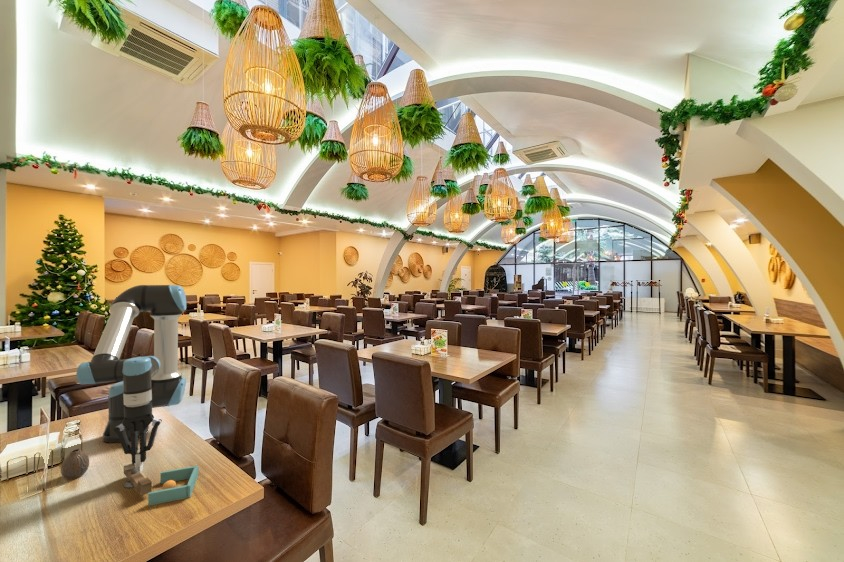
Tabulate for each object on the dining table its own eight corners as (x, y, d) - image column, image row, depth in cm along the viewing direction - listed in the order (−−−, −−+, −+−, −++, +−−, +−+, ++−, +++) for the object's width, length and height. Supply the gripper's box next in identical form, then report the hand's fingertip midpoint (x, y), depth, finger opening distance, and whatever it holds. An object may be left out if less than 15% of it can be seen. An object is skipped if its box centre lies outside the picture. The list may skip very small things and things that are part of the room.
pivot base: (127, 481, 115) (127, 479, 115) (146, 477, 117) (146, 476, 117) (121, 489, 111) (121, 488, 111) (140, 485, 113) (140, 484, 113)
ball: (178, 484, 112) (164, 490, 111) (174, 475, 112) (160, 481, 110) (177, 491, 109) (163, 498, 108) (173, 482, 109) (159, 488, 107)
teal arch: (161, 482, 115) (161, 471, 115) (198, 475, 119) (198, 465, 119) (148, 505, 103) (148, 494, 103) (190, 497, 107) (190, 486, 107)
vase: (71, 483, 114) (71, 456, 114) (54, 480, 116) (55, 454, 116) (94, 471, 121) (94, 446, 121) (79, 469, 122) (79, 444, 122)
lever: (123, 475, 117) (123, 463, 117) (132, 472, 119) (132, 460, 119) (141, 498, 105) (141, 484, 105) (151, 494, 107) (151, 481, 107)
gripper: (109, 410, 113) (110, 482, 113) (157, 404, 118) (158, 472, 118) (118, 402, 119) (120, 470, 120) (163, 397, 125) (164, 462, 125)
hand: (139, 471), depth 119 cm, fingers closed
